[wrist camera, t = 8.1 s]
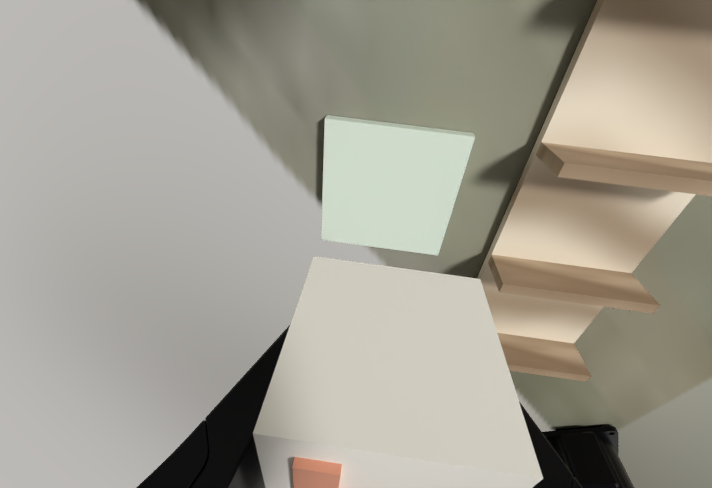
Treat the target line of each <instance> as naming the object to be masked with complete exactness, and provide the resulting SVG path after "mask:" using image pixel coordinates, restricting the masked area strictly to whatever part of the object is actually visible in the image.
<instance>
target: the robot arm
mask: <svg viewBox="0 0 712 488" xmlns="http://www.w3.org/2000/svg"><path fill="white" fill-rule="evenodd" d="M289 327H290V325H289ZM289 327H288V328H287V329H286V330H285V331H284V332H283V333H282V335H280V337H279V338H278V339H277V340H276V341H275V342H274V343H273V344H272V345H271V346H270V347H269V349H268V350H267V351H266V352H265V353H264V354H263V355H262V356H261V358H260V359H259V360H258V361H257V362H256V363H255V364H254V365H253V366H252V368H250V370H249V371H248V372H247V373H246V374H245V375H244V376H243V377H242V378H241V379H240V381H239V382H238V383H237V384H236V385H235V386H234V387H233V388H232V389H231V390H230V392H229V393H228V394H227V395H226V396H225V397H224V398H223V399H222V400H221V402H220V403H219V404H218V405H217V406H216V407H215V408H214V410H212V411H211V413H210V414H209V415H208V416H207V417H206V421H202V422H201V423H200V424H199V426H198V427H197V428H196V429H195V430H194V431H193V432H192V433H191V434H190V435H189V437H188V438H187V439H186V440H185V441H184V442H183V443H182V444H181V445H180V446H179V447H178V448H177V449H176V450H175V451H174V452H173V453H172V454H171V455H170V456H169V457H168V458H167V459H166V460H165V461H164V462H163V463H162V464H161V465H160V466H159V467H158V468H157V469H156V470H155V471H154V472H153V473H152V474H151V475H150V476H148V477H147V478H146V479H145V480H144V481H143V482H142V483H141V484H140V485H139V486H138V487H137V488H265V484H264V479H263V475H262V471H261V467H260V462H259V458H258V454H257V449H256V445H255V441H254V437H253V431H254V428H255V426H256V423H257V420H258V417H259V414H260V411H261V408H262V405H263V402H264V399H265V396H266V394H267V391H268V388H269V385H270V382H271V379H272V376H273V373H274V370H275V367H276V364H277V362H278V359H279V356H280V353H281V350H282V347H283V344H284V341H285V338H286V335H287V333H288V330H289ZM519 403H520V402H519ZM520 406H521V410H522V413H523V416H524V419H525V422H526V425H527V428H528V432H529V435H530V438H531V441H532V444H533V447H534V451H535V454H536V457H537V460H538V463H539V466H540V470H541V473H542V476H543V479H542V480H541V481H540V482H539V483H537V484H536V485H535V486H534V487H533V488H634V486H633V484H632V482H631V480H630V478H629V476H628V475H627V472H626V470H625V468H624V466H623V464H622V462H621V460H620V458H619V456H618V432H617V430H616V428H615V427H613V426H607V427H595V428H583V429H572V430H560V431H548V432H541V431H540V429H539V428H538V427H537V425H536V424H535V422H534V421H533V420H532V418H531V417H530V416H529V414H528V413H527V412H526V410H525V409H524V407H523V406H522V405H521V403H520Z"/></svg>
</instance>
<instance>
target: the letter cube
mask: <svg viewBox="0 0 712 488" xmlns="http://www.w3.org/2000/svg"><path fill="white" fill-rule="evenodd" d="M253 437H254V441H255V445H256V449H257V454H258V458H259V462H260V467H261V471H262V475H263V479H264V484H265V488H533V487H534V486H535V485H536V484H537V483H539V482H540V481H541V480H542V479H543V476H542V473H541V470H540V466H539V463H538V460H537V457H536V454H535V451H534V447H533V444H532V441H531V438H530V435H529V432H528V428H527V425H526V422H525V419H524V416H523V413H522V410H521V406H520V403H519V400H518V397H517V394H516V391H515V387H514V384H513V381H512V378H511V375H510V372H509V368H508V365H507V362H506V359H505V356H504V353H503V349H502V346H501V343H500V340H499V337H498V334H497V330H496V327H495V324H494V321H493V318H492V315H491V311H490V308H489V305H488V302H487V299H486V296H485V292H484V289H483V286H482V283H481V280H480V279H477V278H469V277H462V276H455V275H447V274H440V273H433V272H426V271H418V270H411V269H404V268H396V267H389V266H382V265H374V264H367V263H360V262H353V261H344V260H338V259H331V258H323V257H315V256H314V257H313V260H312V263H311V266H310V269H309V272H308V274H307V277H306V280H305V283H304V286H303V289H302V292H301V295H300V298H299V301H298V303H297V306H296V309H295V312H294V315H293V318H292V321H291V324H290V327H289V330H288V333H287V335H286V338H285V341H284V344H283V347H282V350H281V353H280V356H279V359H278V362H277V364H276V367H275V370H274V373H273V376H272V379H271V382H270V385H269V388H268V391H267V394H266V396H265V399H264V402H263V405H262V408H261V411H260V414H259V417H258V420H257V423H256V426H255V428H254V431H253Z"/></svg>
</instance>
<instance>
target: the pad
mask: <svg viewBox="0 0 712 488" xmlns="http://www.w3.org/2000/svg"><path fill="white" fill-rule="evenodd" d="M474 139H475V136H474V134H473V133H469V132H461V131H452V130H444V129H436V128H428V127H420V126H412V125H403V124H395V123H387V122H379V121H371V120H363V119H355V118H346V117H338V116H330V115H327V116H326V117H325V126H324V159H323V193H322V227H321V240H327V241H334V242H342V243H349V244H357V245H364V246H372V247H379V248H386V249H394V250H401V251H409V252H416V253H424V254H431V255H438V254H439V251H440V247H441V244H442V241H443V238H444V235H445V231H446V228H447V225H448V222H449V219H450V216H451V212H452V209H453V206H454V203H455V200H456V196H457V193H458V190H459V187H460V184H461V181H462V177H463V174H464V171H465V168H466V165H467V161H468V158H469V155H470V152H471V149H472V146H473V142H474Z"/></svg>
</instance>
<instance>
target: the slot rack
mask: <svg viewBox="0 0 712 488" xmlns="http://www.w3.org/2000/svg"><path fill="white" fill-rule="evenodd" d="M695 194H698V195H705V196H712V0H597V2H596V4H595V6H594V9H593V11H592V13H591V16H590V18H589V20H588V23H587V25H586V27H585V30H584V32H583V34H582V36H581V39H580V41H579V43H578V46H577V48H576V50H575V53H574V55H573V57H572V60H571V62H570V64H569V67H568V69H567V71H566V73H565V76H564V78H563V80H562V83H561V85H560V87H559V90H558V92H557V94H556V97H555V99H554V101H553V104H552V106H551V108H550V110H549V113H548V115H547V117H546V120H545V122H544V124H543V127H542V129H541V131H540V134H539V136H538V138H537V141H536V143H535V145H534V147H533V150H532V152H531V154H530V157H529V159H528V161H527V164H526V166H525V168H524V171H523V173H522V175H521V178H520V180H519V182H518V184H517V187H516V189H515V191H514V194H513V196H512V198H511V201H510V203H509V205H508V208H507V210H506V212H505V215H504V217H503V219H502V222H501V224H500V226H499V228H498V231H497V233H496V235H495V238H494V240H493V242H492V245H491V247H490V249H489V252H488V254H487V256H486V259H485V261H484V263H483V265H482V268H481V270H480V272H479V275H478V277H477V279H480V280H481V283H482V286H483V289H484V292H485V296H486V299H487V302H488V305H489V308H490V311H491V315H492V318H493V321H494V324H495V327H496V330H497V334H498V337H499V340H500V343H501V346H502V349H503V353H504V356H505V359H506V362H507V365H508V368H509V371H516V372H523V373H530V374H537V375H544V376H551V377H558V378H565V379H572V380H579V381H586V382H587V381H588V380H589V379H590V378H591V377H592V376H591V375H590V373H589V371H588V369H587V367H586V365H585V363H584V362H583V360H582V358H581V356H580V354H579V352H578V350H577V349H576V347H575V345H574V343H575V341H576V340H577V339H578V338H579V336H580V335H581V334H582V333H583V332H584V330H585V329H586V328H587V327H588V325H589V324H590V323H591V322H592V320H593V319H594V318H595V317H596V316H597V314H598V313H599V312H600V311H601V309H602V308H603V307H610V308H618V309H625V310H632V311H639V312H647V313H654V312H655V311H656V310H657V309H658V308H659V306H660V304H659V303H658V302H657V301H656V300H655V299H654V298H653V297H652V296H651V294H650V293H649V292H648V291H647V290H646V289H645V288H644V287H643V286H642V285H641V283H640V282H639V281H638V280H637V279H636V278H635V277H634V276H633V275H632V274H631V273H632V272H633V270H634V269H635V268H636V267H637V265H638V264H639V263H640V262H641V261H642V259H643V258H644V257H645V256H646V254H647V253H648V252H649V251H650V249H651V248H652V247H653V246H654V245H655V243H656V242H657V241H658V240H659V238H660V237H661V236H662V235H663V234H664V232H665V231H666V230H667V229H668V227H669V226H670V225H671V224H672V223H673V221H674V220H675V219H676V218H677V216H678V215H679V214H680V213H681V212H682V210H683V209H684V208H685V207H686V205H687V204H688V203H689V202H690V201H691V199H692V198H693V197H694V196H695Z"/></svg>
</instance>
